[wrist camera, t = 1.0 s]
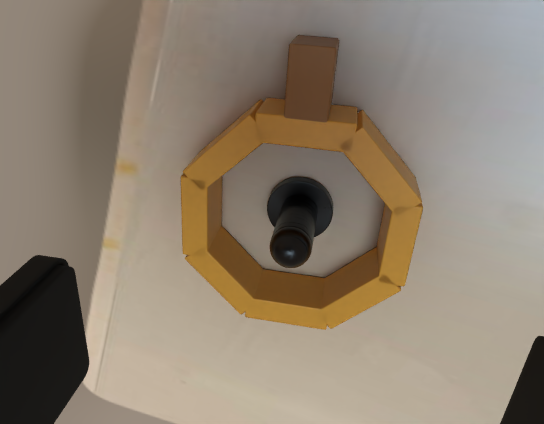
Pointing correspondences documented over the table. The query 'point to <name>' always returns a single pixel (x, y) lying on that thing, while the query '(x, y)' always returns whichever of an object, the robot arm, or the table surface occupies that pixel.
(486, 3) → the table surface
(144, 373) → the table surface
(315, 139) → the ring
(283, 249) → the peg stand
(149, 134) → the table surface
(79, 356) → the robot arm
